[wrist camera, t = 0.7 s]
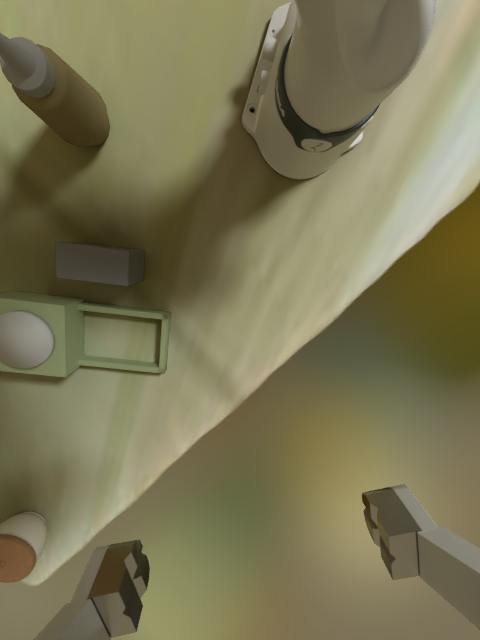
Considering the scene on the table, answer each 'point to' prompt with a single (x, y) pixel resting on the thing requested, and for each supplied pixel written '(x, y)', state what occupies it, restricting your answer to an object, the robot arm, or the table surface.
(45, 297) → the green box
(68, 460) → the table surface
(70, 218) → the table surface
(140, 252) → the tall grey box
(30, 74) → the squeeze bottle
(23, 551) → the lidded jar
